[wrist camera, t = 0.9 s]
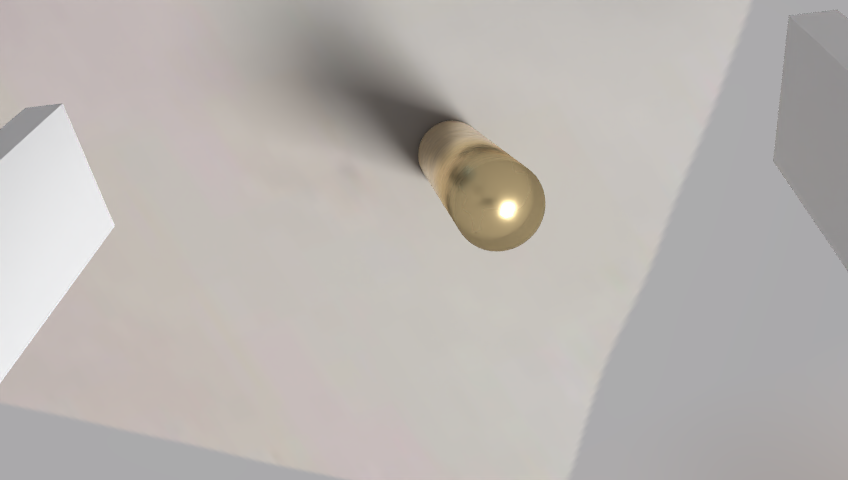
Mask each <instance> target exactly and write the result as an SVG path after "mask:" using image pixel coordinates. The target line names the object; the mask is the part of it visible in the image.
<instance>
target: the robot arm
mask: <svg viewBox="0 0 848 480" xmlns="http://www.w3.org/2000/svg"><path fill="white" fill-rule="evenodd" d="M788 18H789V19H788V28H787V36H786V46H785V56H784V65H783V74H782V83H781V93H780V102H779V111H778V112H779V113H778V121H777V130H776V140H775V149H774V158H773V161H774V163H775V164H776V166H777V167H778V169H779V170H780V172H781V173H782V175H783V176H784V178H785V179H786V180H787V182H788V184H789V185H790V187H791V188H792V190H793V191H794V192H795V194H796V195H797V197H798V198H799V200H800V201H801V203H802V204H803V206H804V207H805V209H806V210H807V212H808V213H809V214H810V216H811V218H812V219H813V220H814V222H815V224H816V225H817V226H818V228H819V229H820V231H821V232H822V234H823V235H824V237H825V238H826V240H827V241H828V243H829V244H830V246H831V247H832V249H833V250H834V252H835V253H836V255H837V256H838V257H839V259H840V260H841V262H842V263H843V265H844V266H845V268H846V269H847V271H848V18H847V17H845V16H844V15H843V14H842V13H840V12H839V11H838V10H830V11H822V12H814V13H806V14H797V15H789V17H788ZM114 226H115V225H114V223H113V220H112V218H111V216H110V213H109V211H108V209H107V206H106V204H105V202H104V199H103V197H102V195H101V192H100V190H99V188H98V185H97V183H96V181H95V178H94V176H93V174H92V171H91V169H90V166H89V164H88V162H87V159H86V157H85V155H84V152H83V150H82V148H81V145H80V143H79V141H78V138H77V136H76V134H75V131H74V129H73V127H72V124H71V122H70V119H69V117H68V115H67V112H66V110H65V108H64V105H63V104H54V105H46V106H38V107H30V108H25V109H24V110H22V111H21V112H20V113H19V114H18V115H17V116H15V117H14V118H13V119H12V120H11V121H9V122H8V123H7V124H6V125H5V126H3V127H2V128H1V129H0V383H1V381H2V380H3V379H4V377H5V376H6V374H7V373H8V372H9V370H10V369H11V368H12V366H13V365H14V363H15V362H16V361H17V359H18V358H19V357H20V355H21V354H22V352H23V351H24V350H25V348H26V347H27V346H28V344H29V343H30V342H31V340H32V339H33V337H34V336H35V335H36V333H37V332H38V331H39V329H40V328H41V326H42V325H43V324H44V322H45V321H46V320H47V318H48V317H49V315H50V314H51V313H52V311H53V310H54V309H55V307H56V306H57V304H58V303H59V302H60V300H61V299H62V298H63V296H64V295H65V294H66V292H67V291H68V289H69V288H70V287H71V285H72V284H73V283H74V281H75V280H76V278H77V277H78V276H79V274H80V273H81V272H82V270H83V269H84V267H85V266H86V265H87V263H88V262H89V261H90V259H91V258H92V256H93V255H94V254H95V252H96V251H97V250H98V248H99V247H100V246H101V244H102V243H103V241H104V240H105V239H106V237H107V236H108V235H109V233H110V232H111V230H112V229H113V228H114Z"/></svg>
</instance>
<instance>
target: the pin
mask: <svg viewBox="0 0 848 480" xmlns="http://www.w3.org/2000/svg"><path fill="white" fill-rule="evenodd" d="M418 159H419V164H420V167H421V169H422V171H423V173H424V174H425V176H426V178H427V179H428V181H429V182H430V184H431V186H432V187H433V189H434V190H435V192H436V194H437V195H438V197H439V198H440V200H441V202H442V203H443V205H444V206H445V208H446V209H447V211H448V213H449V214H450V216H451V217H452V219H453V221H454V222H455V224H456V225H457V227H458V229H459V230H460V232H461V233H462V235H463V236H464V237H465V238H466V239H467V240H468V241H469V242H470V243H472V244H473V245H475V246H477V247H479V248H482V249H484V250H489V251H505V250H510V249H513V248H515V247H518V246H520V245H521V244H523V243H524V242H526V241H527V240H528V239H529V238H530V237H531V236H532V235H533V234H534V233H535V232H536V231H537V229H538V227H539V226H540V224H541V221H542V219H543V216H544V211H545V195H544V191H543V188H542V186H541V184H540V182H539V180H538V179H537V177H536V176H535V175H534V174H533V173H532V172H531V171H530V170H529V169H528V168H526V167H525V166H524V165H522V164H521V163H519V162H518V161H517V160H515V159H514V158H513V157H511V156H510V155H509V154H507V153H506V152H505V151H503V150H502V149H501V148H499V147H498V146H497V145H495V144H494V143H492V142H491V141H490V140H488V139H487V138H486V137H484V136H483V135H482V134H480V133H479V132H478V131H476V130H475V129H474V128H472V127H471V126H469V125H468V124H466V123H463V122H460V121H445V122H441V123H439V124H437V125H435V126H433V127H432V128H431V129H429V130H428V132H427V133H426V134H425V135H424V137H423V138H422V140H421V143H420V146H419V151H418Z"/></svg>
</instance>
